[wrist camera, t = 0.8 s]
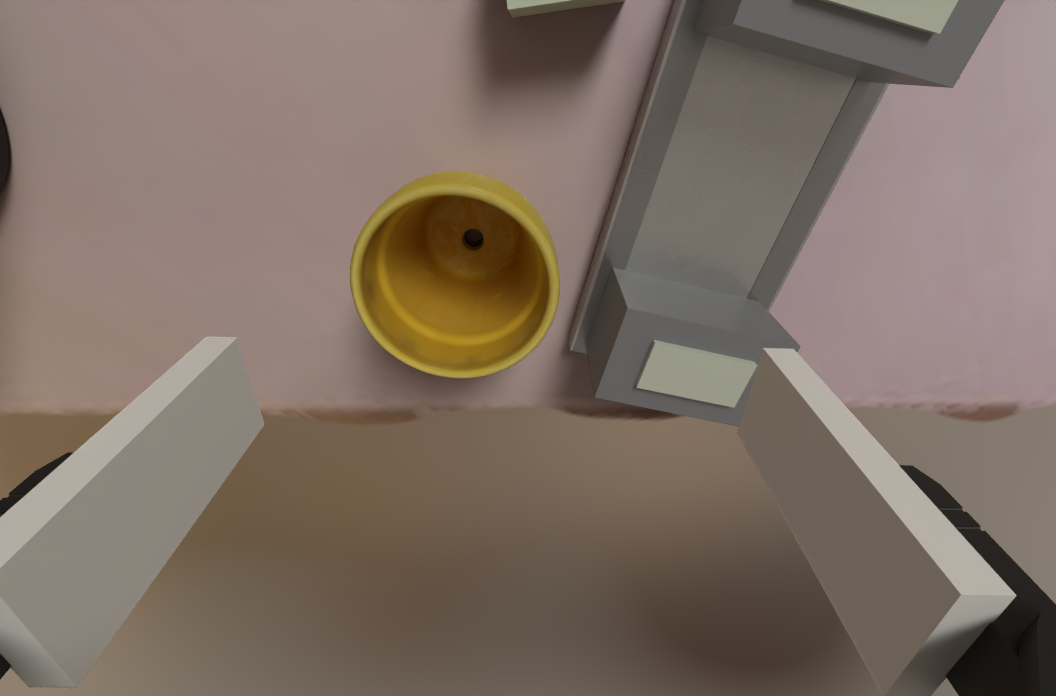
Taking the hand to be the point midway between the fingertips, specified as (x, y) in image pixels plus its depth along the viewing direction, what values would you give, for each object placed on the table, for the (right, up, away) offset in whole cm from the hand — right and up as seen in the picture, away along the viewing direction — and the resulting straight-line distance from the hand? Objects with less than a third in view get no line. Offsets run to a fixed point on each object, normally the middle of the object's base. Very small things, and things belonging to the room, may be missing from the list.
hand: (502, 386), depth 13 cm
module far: (+10, +3, +21) cm, 23 cm away
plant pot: (-3, +9, +20) cm, 22 cm away
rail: (+12, +12, +18) cm, 25 cm away
